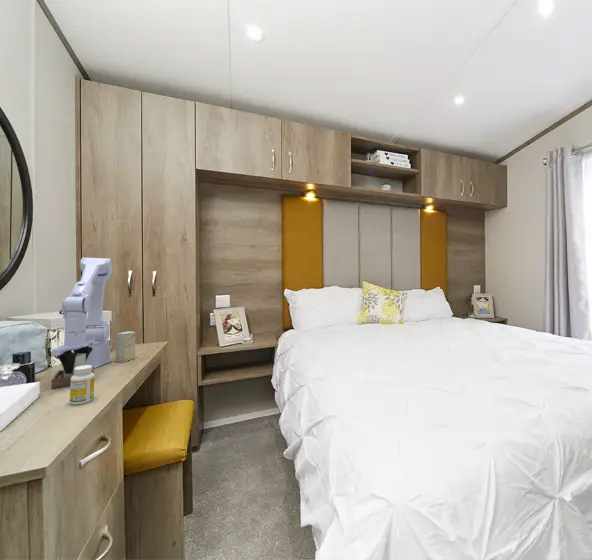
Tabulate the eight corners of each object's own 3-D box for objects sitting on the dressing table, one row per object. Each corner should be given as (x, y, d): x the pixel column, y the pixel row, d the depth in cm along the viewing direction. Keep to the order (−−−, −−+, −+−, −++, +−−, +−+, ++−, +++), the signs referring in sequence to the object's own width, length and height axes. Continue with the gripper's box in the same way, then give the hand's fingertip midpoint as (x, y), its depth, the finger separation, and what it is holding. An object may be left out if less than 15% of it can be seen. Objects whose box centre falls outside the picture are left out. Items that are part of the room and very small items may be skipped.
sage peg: (74, 376, 92) (74, 353, 92) (85, 376, 91) (85, 353, 92) (63, 380, 88) (64, 356, 88) (74, 380, 87) (75, 356, 88)
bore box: (57, 379, 91) (57, 370, 91) (93, 374, 96) (93, 366, 96) (51, 389, 82) (51, 379, 83) (91, 382, 88) (91, 373, 88)
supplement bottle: (76, 406, 71) (77, 371, 71) (65, 403, 73) (66, 368, 74) (98, 398, 76) (99, 365, 76) (87, 395, 78) (88, 363, 79)
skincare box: (123, 362, 111) (124, 333, 111) (114, 361, 112) (115, 333, 112) (135, 358, 117) (136, 331, 117) (127, 357, 118) (127, 330, 118)
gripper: (67, 335, 82) (66, 379, 82) (103, 328, 97) (102, 365, 97) (46, 335, 83) (44, 378, 82) (84, 327, 97) (83, 364, 97)
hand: (74, 371), depth 89 cm, fingers closed on sage peg, 4 cm apart
